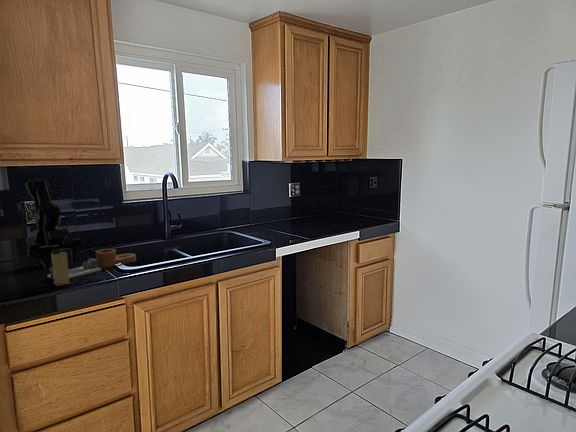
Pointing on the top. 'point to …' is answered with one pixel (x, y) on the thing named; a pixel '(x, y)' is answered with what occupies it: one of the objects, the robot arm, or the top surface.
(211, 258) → the top surface
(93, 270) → the plate with raised blocks
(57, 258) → the gold tall square block
